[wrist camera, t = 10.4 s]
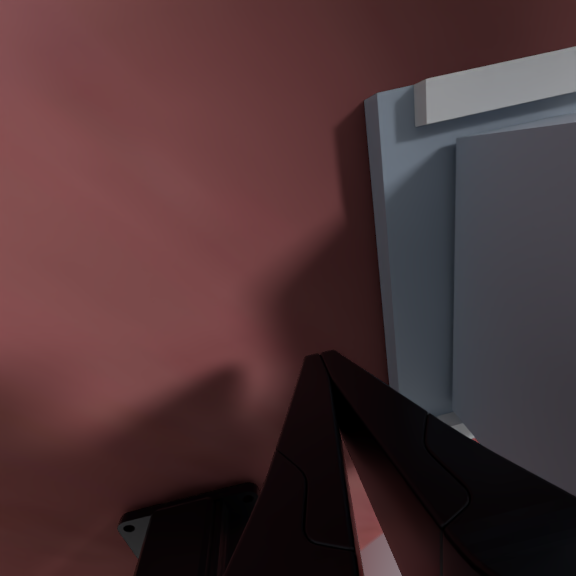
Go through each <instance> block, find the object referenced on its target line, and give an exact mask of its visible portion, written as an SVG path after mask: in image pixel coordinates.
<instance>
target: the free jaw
mask: <svg viewBox="0 0 576 576" xmlns="http://www.w3.org/2000/svg"><path fill="white" fill-rule="evenodd" d="M452 410H453V411H454V413H455V414H456V415H457V416H458V418H459V419H460V420H461V421H462V422H463V424H464V425H465V426H466V427H467V428H468V430H469V431H470V432H471V433H472V435H473V436H474V437H475V438H476V439H477V441H478V442H479V443H480V444H481V445H483V446H484V447H486V448H488V449H490V450H491V451H493V452H495V453H497V454H499V455H500V456H502V457H504V458H506V459H508V460H510V461H511V462H513V463H515V464H517V465H519V466H521V467H523V468H524V469H526V470H528V471H530V472H532V473H534V474H535V475H537V476H539V477H541V478H543V479H545V480H547V481H548V482H550V483H552V484H554V485H556V486H558V487H559V488H561V489H563V490H565V491H567V492H569V493H570V494H572V495H574V496H576V113H570V114H564V115H558V116H554V117H549V118H545V119H540V120H536V121H531V122H527V123H522V124H518V125H513V126H509V127H504V128H500V129H495V130H491V131H486V132H482V133H478V134H473V135H469V136H464V137H460V138H456V199H455V263H454V327H453V391H452Z"/></svg>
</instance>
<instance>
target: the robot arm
mask: <svg viewBox="0 0 576 576" xmlns="http://www.w3.org/2000/svg"><path fill="white" fill-rule="evenodd" d="M340 432H341V435H342V438H343V440H344V443H345V445H346V447H347V449H348V452H349V454H350V456H351V459H352V461H353V463H354V466H355V468H356V470H357V473H358V475H359V477H360V480H361V482H362V484H363V486H364V489H365V491H366V493H367V496H368V498H369V500H370V503H371V505H372V507H373V510H374V512H375V514H376V517H377V519H378V521H379V523H380V526H381V528H382V530H383V533H384V535H385V537H386V540H387V541H388V544H389V546H390V549H391V551H392V553H393V556H394V558H395V560H396V563H397V565H398V567H399V570H400V572H401V574H402V576H576V496H574V495H572V494H570V493H569V492H567V491H565V490H563V489H561V488H559V487H558V486H556V485H554V484H552V483H550V482H548V481H547V480H545V479H543V478H541V477H539V476H537V475H535V474H534V473H532V472H530V471H528V470H526V469H524V468H523V467H521V466H519V465H517V464H515V463H513V462H511V461H510V460H508V459H506V458H504V457H502V456H500V455H499V454H497V453H495V452H493V451H491V450H490V449H488V448H486V447H484V446H483V445H481V444H479V443H477V442H476V441H474V440H472V439H470V438H469V437H467V436H465V435H464V434H462V433H460V432H459V431H457V430H456V429H454V428H452V427H451V426H449V425H448V424H446V423H444V422H443V421H441V420H440V419H438V418H437V417H435V416H434V415H432V414H431V413H429V414H428V412H427V411H426V410H425V409H423V408H422V407H420V406H419V405H417V404H416V403H414V402H413V401H411V400H410V399H408V398H407V397H405V396H403V395H402V394H400V393H399V392H397V391H396V390H394V389H393V388H391V387H390V386H388V385H387V384H385V383H384V382H382V381H381V380H379V379H378V378H376V377H375V376H373V375H372V374H370V373H369V372H367V371H366V370H364V369H363V368H361V367H360V366H358V365H357V364H355V363H354V362H352V361H351V360H349V359H348V358H346V357H345V356H343V355H342V354H340V353H339V352H337V351H336V350H329V351H325V352H322V353H321V354H318V353H317V354H313V355H308V356H306V357H305V358H304V361H303V365H302V368H301V371H300V374H299V377H298V380H297V383H296V387H295V390H294V393H293V396H292V399H291V402H290V406H289V409H288V412H287V415H286V418H285V421H284V424H283V428H282V431H281V434H280V437H279V440H278V443H277V446H276V451H275V452H274V455H273V458H272V462H271V465H270V468H269V471H268V473H267V476H266V479H265V482H264V485H263V487H262V490H261V492H260V491H259V488H258V487H257V485H255V484H253V483H245V484H241V485H237V486H233V487H229V488H225V489H221V490H217V491H213V492H209V493H205V494H201V495H197V496H193V497H189V498H185V499H181V500H176V501H172V502H168V503H164V504H160V505H156V506H152V507H148V508H144V509H140V510H136V511H132V512H128V513H126V514H124V515H123V516H122V517H121V520H120V523H119V525H118V528H117V529H118V531H119V533H120V534H121V536H122V537H123V539H124V540H125V541H126V543H127V544H128V546H129V547H130V548H131V550H132V551H133V553H134V554H135V555H136V557H137V558H138V562H137V565H136V569H135V572H134V576H364V572H363V566H362V559H361V554H360V548H359V542H358V536H357V530H356V524H355V518H354V512H353V506H352V500H351V494H350V488H349V482H348V476H347V470H346V464H345V458H344V452H343V446H342V440H341V435H340Z"/></svg>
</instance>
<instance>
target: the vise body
mask: <svg viewBox="0 0 576 576" xmlns="http://www.w3.org/2000/svg"><path fill="white" fill-rule="evenodd" d="M364 107H365V118H366V129H367V140H368V151H369V163H370V174H371V185H372V196H373V208H374V219H375V230H376V241H377V252H378V264H379V275H380V286H381V297H382V309H383V320H384V331H385V342H386V353H387V365H388V376H389V386H390V387H391V388H393V389H394V390H396V391H397V392H399V393H400V394H402V395H403V396H405V397H407V398H408V399H410V400H411V401H413V402H414V403H416V404H417V405H419V406H420V407H422V408H423V409H425V410H426V411H427V412H428V414H429V413H431V414H432V415H434V416H435V417H437V418H438V419H440V420H441V421H443V422H444V423H446V424H448V425H449V426H451V427H452V428H454V429H456V430H457V431H459V432H460V433H462V434H464V435H465V436H467V437H469V438H470V439H472V438H475V437H474V436H473V435H472V433H471V432H470V431H469V430H468V428H467V427H466V426H465V425H464V424H463V422H462V421H461V420H460V419H459V418H458V416H457V415H456V414H455V413H454V411H453V410H452V391H453V327H454V263H455V199H456V138H460V137H464V136H469V135H473V134H478V133H482V132H486V131H491V130H495V129H500V128H504V127H509V126H513V125H518V124H522V123H527V122H531V121H536V120H540V119H545V118H549V117H554V116H558V115H564V114H570V113H576V46H575V47H571V48H566V49H561V50H557V51H552V52H548V53H543V54H538V55H534V56H529V57H524V58H520V59H515V60H511V61H506V62H501V63H497V64H492V65H488V66H483V67H478V68H474V69H469V70H465V71H460V72H455V73H451V74H446V75H442V76H437V77H432V78H428V79H425V80H423V81H421V82H419V83H417V84H415V85H411V86H407V87H402V88H397V89H393V90H388V91H384V92H379V93H376V94H374V95H373V96H371V97H369V98H367V99H366V100H364Z"/></svg>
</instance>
